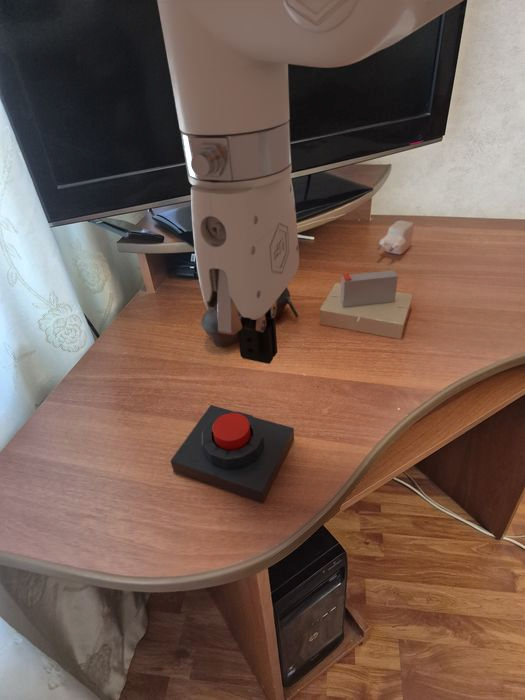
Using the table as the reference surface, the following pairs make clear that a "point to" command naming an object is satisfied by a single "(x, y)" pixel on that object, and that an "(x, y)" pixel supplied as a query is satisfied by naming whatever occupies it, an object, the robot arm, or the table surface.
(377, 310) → the base
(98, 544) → the table surface
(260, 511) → the table surface
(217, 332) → the glasses case
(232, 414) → the button
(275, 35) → the robot arm
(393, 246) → the power adapter
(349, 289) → the grey red-tipped bar
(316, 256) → the table surface
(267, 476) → the switch block
